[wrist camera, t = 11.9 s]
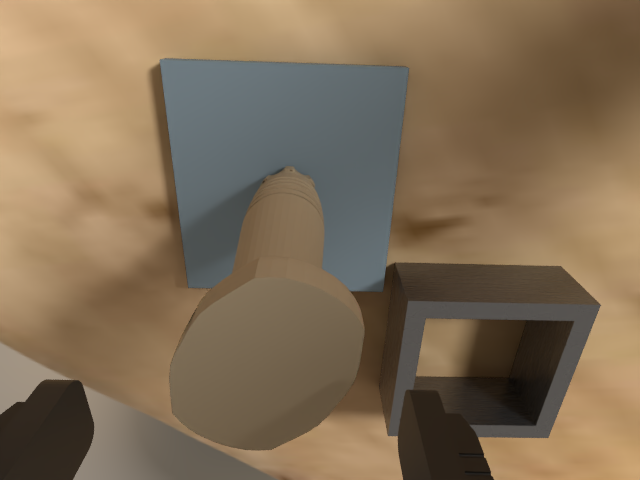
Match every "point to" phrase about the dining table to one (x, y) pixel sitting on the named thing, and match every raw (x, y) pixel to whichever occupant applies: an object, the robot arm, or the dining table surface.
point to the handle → (269, 330)
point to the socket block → (489, 303)
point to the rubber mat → (285, 155)
